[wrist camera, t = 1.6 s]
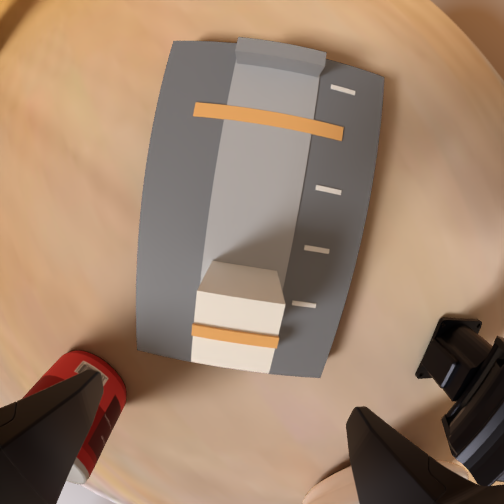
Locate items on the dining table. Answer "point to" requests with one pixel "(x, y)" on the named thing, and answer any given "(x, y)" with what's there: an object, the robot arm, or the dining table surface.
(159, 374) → the dining table surface
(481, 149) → the dining table surface
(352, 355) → the dining table surface
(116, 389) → the canned food
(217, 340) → the fader tab
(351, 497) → the white serving bowl
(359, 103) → the console plate
